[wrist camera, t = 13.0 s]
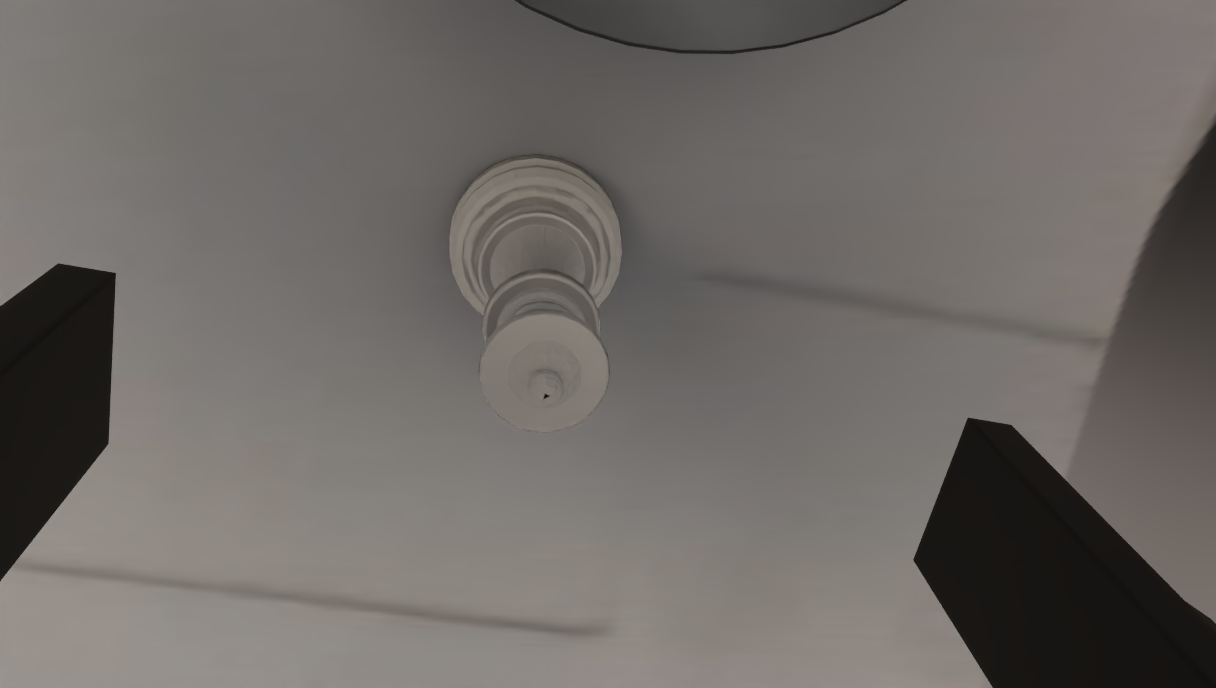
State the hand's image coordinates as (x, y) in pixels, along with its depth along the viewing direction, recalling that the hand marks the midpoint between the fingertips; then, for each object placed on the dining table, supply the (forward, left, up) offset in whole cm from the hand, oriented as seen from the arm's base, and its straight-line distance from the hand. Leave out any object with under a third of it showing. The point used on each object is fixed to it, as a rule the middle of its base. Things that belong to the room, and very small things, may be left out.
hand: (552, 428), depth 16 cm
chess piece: (0, 0, -12) cm, 12 cm away
